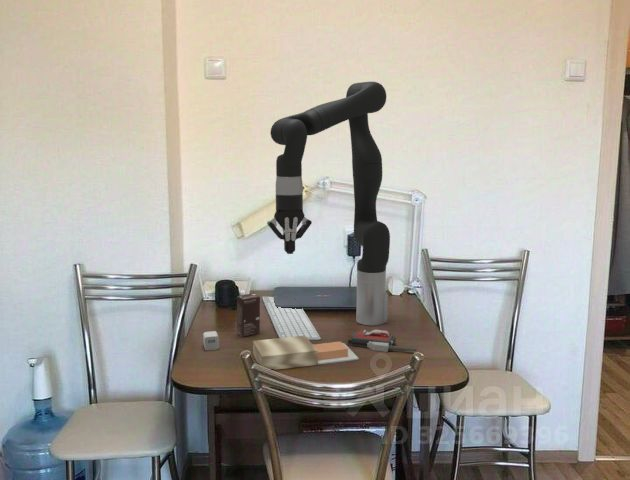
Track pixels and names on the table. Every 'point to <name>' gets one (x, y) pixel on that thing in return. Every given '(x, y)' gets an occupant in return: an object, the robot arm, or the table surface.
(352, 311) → the table surface
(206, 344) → the usb wall charger
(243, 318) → the box
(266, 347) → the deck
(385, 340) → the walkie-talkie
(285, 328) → the keyboard
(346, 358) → the mat
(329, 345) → the tile
